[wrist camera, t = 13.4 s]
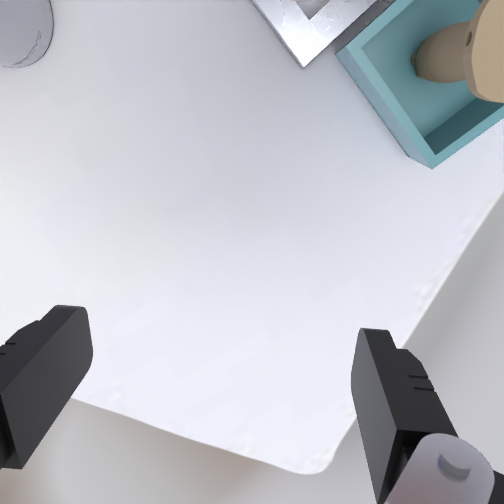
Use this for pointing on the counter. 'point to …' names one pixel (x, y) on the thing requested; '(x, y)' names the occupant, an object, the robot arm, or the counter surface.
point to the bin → (417, 80)
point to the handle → (468, 53)
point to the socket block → (310, 24)
